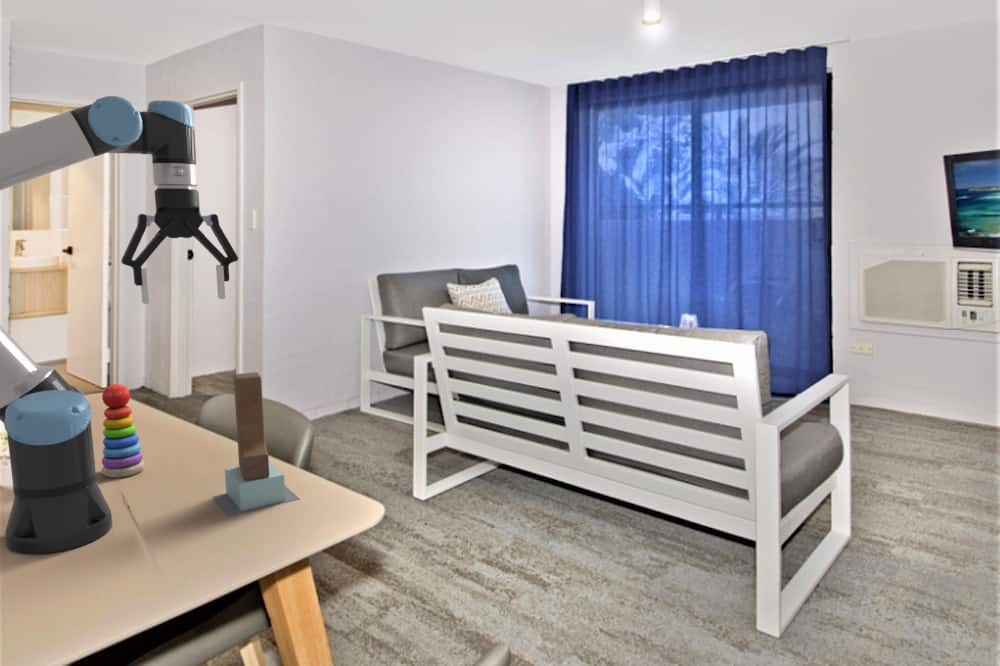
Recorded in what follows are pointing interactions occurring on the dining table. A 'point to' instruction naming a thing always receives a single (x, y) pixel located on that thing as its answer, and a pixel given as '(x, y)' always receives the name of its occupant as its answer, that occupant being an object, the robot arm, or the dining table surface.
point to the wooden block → (250, 426)
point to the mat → (233, 509)
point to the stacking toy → (120, 435)
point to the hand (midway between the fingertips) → (184, 300)
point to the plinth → (254, 488)
